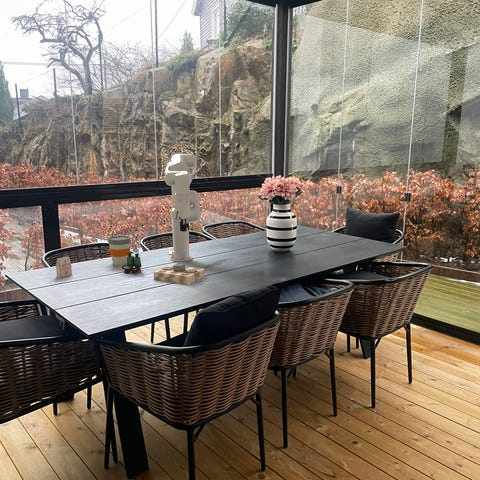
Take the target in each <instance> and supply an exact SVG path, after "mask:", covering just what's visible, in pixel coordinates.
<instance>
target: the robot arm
mask: <svg viewBox="0 0 480 480" xmlns="http://www.w3.org/2000/svg"><path fill="white" fill-rule="evenodd" d="M197 165H198V160H197V157H196V155H195V154H193V153H175V154H174V155H173V156H172V157H171V160H170V162H168V163H167V164H166V167H165V170H164V181H165V184H166V185H168V186H170V187H171V199H172V200H171V201H172V204H173V207H174V208H172V209H171V210H170V220H171V227H172V251H170V250H169V251H168V253H167V255H168V256H171V257H170V260H171V261H172V262H177V263H181V262H183V263H184V262H189V261H191V260H193V257H192V256H191V255H190V231H189V228H188V226H187V224H196V223H199V222H200V221H201V205H200V197H199V193H198V192H197V191H196V190H190V185H191V183H192V181H193V176H194V175H195V174H196V172H197V171H196V170H197V167H198V166H197Z"/></svg>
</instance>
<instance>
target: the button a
mask: <svg viewBox="0 0 480 480" xmlns="http://www.w3.org/2000/svg"><path fill="white" fill-rule="evenodd" d="M164 267H165V268H164ZM164 267H162V268H163V269H162V268H161V269H162V270H169V271H170V270H172V269H174V267H167V266H164Z"/></svg>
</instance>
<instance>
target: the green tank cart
mask: <svg viewBox="0 0 480 480" xmlns="http://www.w3.org/2000/svg"><path fill="white" fill-rule="evenodd" d="M142 266H143V265H142V261H141V257H140V256H139V252H136V253H135V254H134V256H133V255H132V252H131V251H130V252H128V257H127V263H126V264H124V265H121V269H122V270H123V273H124V274H132V275H135V274H137V273H139V272H142V269H141V268H142Z"/></svg>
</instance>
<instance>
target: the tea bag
mask: <svg viewBox="0 0 480 480" xmlns="http://www.w3.org/2000/svg"><path fill="white" fill-rule="evenodd" d="M55 270H56V273H55V274H56V277H57V278H59V279H61V278H65V277H66V278H67V277H69V276H73V269H72V262H71V259H70V256H64V257H60V258H59V257H58V258H57V259H56V263H55Z"/></svg>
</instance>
